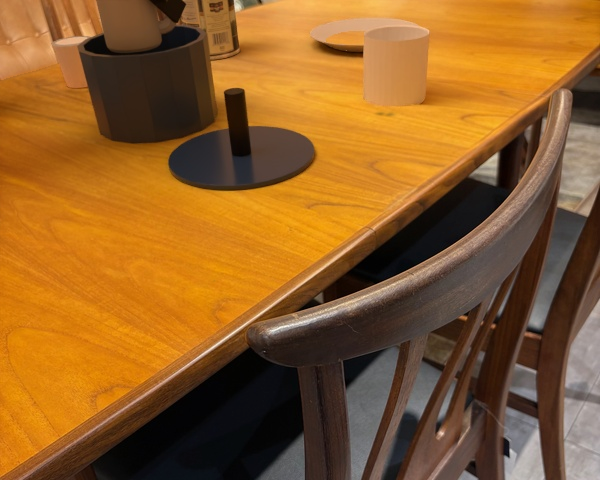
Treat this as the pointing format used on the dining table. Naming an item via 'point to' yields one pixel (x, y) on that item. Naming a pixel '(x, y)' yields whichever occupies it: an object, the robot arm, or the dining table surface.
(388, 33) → the mug
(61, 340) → the dining table surface
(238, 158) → the lid
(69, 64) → the shot glass
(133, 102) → the pot
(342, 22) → the plate
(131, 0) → the cup
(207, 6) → the coffee can
